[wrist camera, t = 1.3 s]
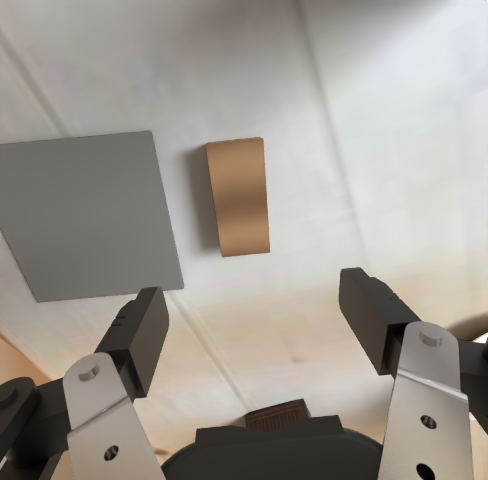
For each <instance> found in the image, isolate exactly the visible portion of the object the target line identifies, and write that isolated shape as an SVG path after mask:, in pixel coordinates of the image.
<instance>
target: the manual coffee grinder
mask: <svg viewBox="0 0 488 480" xmlns="http://www.w3.org/2000/svg"><path fill="white" fill-rule="evenodd" d="M303 418H312V417H311V415H310V412H309V410H308V408H307V406H306V404H305V402H304V399H300V400H295V401H290V402H286V403H283V404H279V405H275V406H271V407H268V408H264V409H260V410H257V411H253V412H250V413H248V414H246V415H245V420H246V428H248V429H253V430H259V431H264V432H270V431H273V430H276V429H278V428H281V427H283V426H286V425H288V424H291V423H293V422H296V421H298V420H301V419H303Z"/></svg>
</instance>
